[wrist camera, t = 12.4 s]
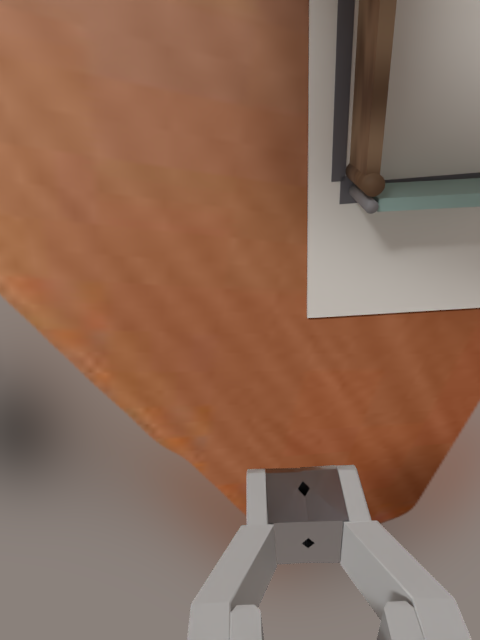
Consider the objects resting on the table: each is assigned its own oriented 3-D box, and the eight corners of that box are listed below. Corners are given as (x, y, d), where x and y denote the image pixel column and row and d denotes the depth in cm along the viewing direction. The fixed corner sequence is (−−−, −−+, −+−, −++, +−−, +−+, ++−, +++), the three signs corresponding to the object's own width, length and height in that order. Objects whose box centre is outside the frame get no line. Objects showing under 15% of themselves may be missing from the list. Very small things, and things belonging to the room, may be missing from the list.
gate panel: (348, 196, 35) (364, 214, 30) (349, 184, 34) (365, 200, 29) (500, 188, 34) (541, 204, 29) (503, 176, 34) (546, 191, 29)
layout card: (309, -26, 28) (310, -28, 27) (606, -59, 27) (612, -61, 26) (306, 316, 42) (307, 318, 42) (500, 304, 41) (502, 306, 40)
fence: (356, -29, 27) (381, -55, 22) (379, -31, 27) (410, -58, 22) (345, 180, 34) (362, 197, 29) (363, 179, 34) (384, 195, 29)
